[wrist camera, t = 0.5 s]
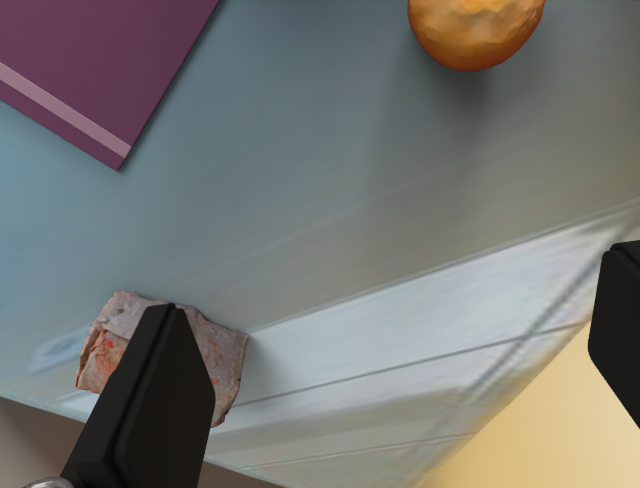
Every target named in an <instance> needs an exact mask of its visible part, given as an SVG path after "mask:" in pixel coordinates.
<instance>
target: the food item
mask: <svg viewBox="0 0 640 488" xmlns="http://www.w3.org/2000/svg"><path fill="white" fill-rule="evenodd" d="M160 304H168V303H167V302H165V301H164V300H160V301H151V300H148V299H145V298H142V297H139V296H138V295H137V294H136V293H135V292H132V293H127V292H126V291H125V290H122V291H117V292H114V293H113V296H112V298H110V300H109V301H108V302H107V303H106V304H105V305H104V308H103V309H102V310H101V311H100V313H99V315H98V317H97V318H96V319H95V321H94V322H92V323H91V325H90V328H89V330H88V334H87V336H86V338H85V341H84V344H83V347H82V351H81V357H80V365H79V367H78V370H77V373H76V389H82V390H91V391H92V392H93V393H97V394H99V395H101V393H102V391H103V389H104V386H105V384H106V382H107V380H108V378H109V376H110V375H111V373H112V372H113V370H115V369H116V367H117V365H118V363H119V361H120V359H121V357H122V355H123V353H124V351H125V349H126V347H127V345H128V343H129V341H130V339H131V337H132V335H133V333H134V331H135V329H136V327H137V325H138V323H139V321H140V319H141V316H142V314H143V312H144V310H145V309H146V307H148V306H153V305H160ZM175 306H176V307H177V309H178V308H182V309H184V311H185V313H186V315H187V318H188V321H189V323H190V326H191V329H192V331H193V334H194V337H195V339H196V342H197V344H198V347H199V350H200V352H201V355H202V358H203V360H204V363H205V366H206V368H207V371H208V374H209V376H210V379H211V382H212V384H213V387H214V390H215V395H216V404H215V409H214V414H213V418H212V423H211V427H210V428H214V427H216V426H218V425H220V424H221V423H223V422H224V420H225V415H226V414H227V413H228V412H229V410H230V408H231V406H232V404H233V402H234V400H235V398H236V396H237V394H238V391H239V388H240V381H241V371H242V366H243V362H244V357H245V349H246V346H247V342H248V334H244V333H240V332H238V331H231V330H226V329H225V328H224V327H222V326H219V325H217V324H214V323H211V322H209V321H206V320H205V319H204V318H203V316H202V315H201V314H200V312H199V311H198V310H197V309H195V308H194V307H192V306H184V305H181V304H177V305H175ZM222 419H223V421H222Z"/></svg>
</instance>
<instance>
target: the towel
mask: <svg viewBox="0 0 640 488" xmlns="http://www.w3.org/2000/svg"><path fill="white" fill-rule="evenodd" d="M219 1H220V0H0V99H1V100H3V101H4V102H6V103H7V104H9V105H11V106H12V107H14V108H15V109H17V110H19V111H20V112H22V113H24V114H25V115H27V116H28V117H30V118H32V119H33V120H35V121H36V122H38V123H40V124H41V125H43V126H44V127H46V128H48V129H49V130H51V131H53V132H54V133H56V134H57V135H59V136H61V137H62V138H64V139H65V140H67V141H69V142H70V143H72V144H73V145H75V146H77V147H78V148H80V149H82V150H83V151H85V152H86V153H88V154H90V155H91V156H93V157H94V158H96V159H98V160H99V161H101V162H103V163H104V164H106V165H107V166H109V167H111V168H112V169H114V170H115V171H118V170H119V169H120V167H121V165H122V164H123V162H124V160H125V159H126V157H127V155H128V154H129V152H130V150H131V148H132V147H133V145H134V143H135V142H136V140H137V138H138V137H139V135H140V133H141V132H142V130H143V128H144V127H145V125H146V123H147V122H148V120H149V118H150V117H151V115H152V113H153V112H154V110H155V108H156V107H157V105H158V103H159V102H160V100H161V98H162V97H163V95H164V93H165V92H166V90H167V88H168V87H169V85H170V83H171V82H172V80H173V78H174V77H175V75H176V73H177V71H178V70H179V68H180V66H181V65H182V63H183V61H184V60H185V58H186V56H187V55H188V53H189V51H190V50H191V48H192V46H193V45H194V43H195V41H196V40H197V38H198V36H199V35H200V33H201V31H202V30H203V28H204V26H205V25H206V23H207V21H208V20H209V18H210V16H211V15H212V13H213V11H214V10H215V8H216V6H217V5H218V3H219Z"/></svg>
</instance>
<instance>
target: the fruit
mask: <svg viewBox="0 0 640 488" xmlns="http://www.w3.org/2000/svg"><path fill="white" fill-rule="evenodd" d="M544 3H545V0H408V18H409V23H410V26H411V29H412V31H413V33H414V35H415V37H416V38H417V40H418V42H419V43H420V45H421V46H422V47H423V49H424V50H425V51H426V52H427V53H428V54H429V55H430V56H431V57H432V58H433V59H434V60H435V61H437V62H438V63H440V64H442V65H444V66H446V67H448V68H450V69H453V70H457V71H467V72H472V71H480V70H484V69H487V68H490V67H493V66H495V65H498V64H501V63H502V62H504V61H505V60H507V59H508V58H510V57H511V56H512V55H513V54H515V53H516V52H517V51H518V50H519V49H520V48H521V47H522V46H523V44H524V43H525V42H526V41H527V40H528V39H529V37H530V36H531V34H532V33H533V32H534V30H535V29H536V27H537V25H538V23H539V22H540V19H541V16H542V12H543V7H544Z"/></svg>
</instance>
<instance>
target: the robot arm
mask: <svg viewBox="0 0 640 488" xmlns="http://www.w3.org/2000/svg"><path fill="white" fill-rule="evenodd" d="M588 352H589V355H590V357H591V360H592V361H593V363H594V364H595V366H596V367H597V369H598V370H599V372H600V373H601V374H602V376H603V377H604V379H605V380H606V381H607V383H608V385H609V386H610V387H611V389H612V390H613V392H614V393H615V395H616V396H617V397H618V399H619V400H620V402H621V403H622V405H623V406H624V407H625V409H626V410H627V412H628V413H629V415H630V416H631V417H632V419H633V420H634V421H635V423H636V425H637V426H638V427H639V429H640V240H637V241H629V242H622V243H615V244H613V245H612V246H611V248H610V251H606V252H605V253H604V254H603V257H602V261H601V267H600V273H599V279H598V285H597V291H596V297H595V303H594V309H593V315H592V321H591V327H590V333H589V339H588ZM215 404H216V395H215V390H214V387H213V384H212V382H211V379H210V376H209V374H208V371H207V368H206V366H205V363H204V360H203V358H202V355H201V352H200V350H199V347H198V344H197V342H196V339H195V337H194V334H193V331H192V329H191V326H190V323H189V321H188V318H187V315H186V313H185V311H184V309H182V308H178V309H177V307H176V306H175V304H173V303H168V304H160V305H153V306H148V307H146V309H145V310H144V312H143V314H142V316H141V319H140V321H139V323H138V325H137V327H136V329H135V331H134V333H133V335H132V337H131V339H130V341H129V343H128V345H127V347H126V349H125V351H124V353H123V355H122V357H121V359H120V361H119V363H118V365H117V367H116V369H115V370H113V372H112V373H111V375H110V376H109V378H108V380H107V382H106V384H105V386H104V389H103V391H102V393H101V395H100V397H99V399H98V401H97V403H96V405H95V407H94V409H93V411H92V413H91V415H90V417H89V419H88V421H87V423H86V425H85V427H84V429H83V431H82V433H81V435H80V437H79V439H78V441H77V443H76V445H75V447H74V449H73V451H72V453H71V455H70V457H69V459H68V461H67V463H66V465H65V467H64V469H63V471H62V473H61V475H60V477H47V478H43V479H40V480H37V481H34V482H32V483H30V484H28V485H27V486H25V487H23V488H197V484H198V480H199V476H200V471H201V467H202V462H203V458H204V454H205V449H206V445H207V440H208V436H209V431H210V427H211V423H212V418H213V414H214V409H215Z"/></svg>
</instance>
